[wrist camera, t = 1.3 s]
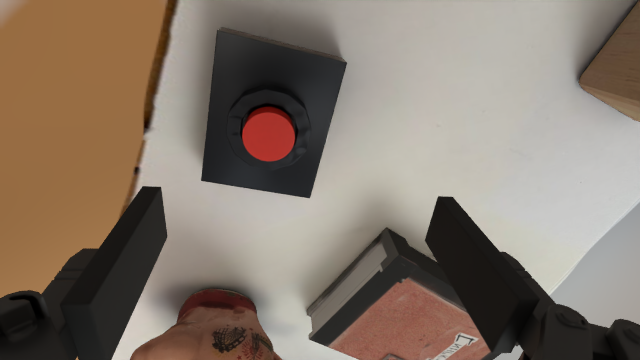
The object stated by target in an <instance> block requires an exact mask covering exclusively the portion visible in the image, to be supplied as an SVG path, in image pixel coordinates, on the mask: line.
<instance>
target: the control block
mask: <svg viewBox="0 0 640 360" xmlns="http://www.w3.org/2000/svg"><path fill="white" fill-rule="evenodd" d="M346 64H347V62H346V61H345V60H344V59H343V58H342V57H338V56H334V55H330V54H326V53H322V52H318V51H314V50H310V49H306V48H302V47H298V46H294V45H290V44H286V43H282V42H278V41H274V40H270V39H266V38H262V37H258V36H254V35H250V34H247V33H243V32H239V31H235V30H231V29H227V28H223V27H222V28H220V29H219V30H217V37H216V46H215V56H214V65H213V74H212V84H211V93H210V102H209V112H208V121H207V130H206V140H205V149H204V158H203V168H202V177H201V181H206V182H212V183H218V184H224V185H231V186H237V187H243V188H249V189H256V190H262V191H268V192H274V193H280V194H287V195H293V196H299V197H305V198H310V196H311V192H312V189H313V185H314V181H315V178H316V174H317V170H318V167H319V163H320V159H321V156H322V152H323V149H324V145H325V141H326V138H327V134H328V130H329V127H330V123H331V119H332V116H333V112H334V108H335V105H336V101H337V97H338V94H339V90H340V86H341V83H342V79H343V75H344V72H345V68H346ZM261 107H275V108H278V109H281V110H282V111H284V112H285V113H286V114H287V115H288V116H289V117H290V119H291V120H292V122H293V126H294V133H295V141H294V145H293V148H292V149H291V151H290V152H289V153H288V154H287V155H286V156H285V157H283V158H281V159H279V160H276V161H263V160H260V159H257V158H255V157H254V156H252V155H251V154H250V153H249V152H248V151H247V149H246V148H245V146H244V143H243V139H242V133H243V128H244V125H245V121H246V119H247V117H248V116H249V115H250V114H251V113H252V112H253V111H254V110H256V109H258V108H261Z"/></svg>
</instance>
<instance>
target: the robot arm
mask: <svg viewBox="0 0 640 360" xmlns="http://www.w3.org/2000/svg"><path fill="white" fill-rule="evenodd" d="M166 239H167V229H166V222H165V214H164V206H163V199H162V191H161V187H148V186H143V187H142V188H141V190H140V191H139V192H138V194H137V195H136V197H135V198H134V199H133V201H132V202H131V204H130V205H129V207H128V208H127V209H126V211H125V212H124V214H123V215H122V216H121V218H120V219H119V221H118V222H117V224H116V225H115V226H114V228H113V229H112V231H111V232H110V233H109V235H108V236H107V238H106V239H105V241H104V242H103V243H102V245H101V246H100V248H99V249H82V250H81V251H79V252H78V253H77V254H75V255H74V256H72V257H71V258H70V259H69V260H68V261H67V263H66V264H65V265H64V266H63V267H62V270H61V271H59V273H58V274H57V275H56V276H55V279H54V280H52V281H51V283H50V284H49V285H48V286H47V288H46V289H45V290H44V292H43V293H42V294H40V293H39V292H35V291H31V290H28V291H19V292H15V293H12V294H8V295H6V296H4V297H2V298H0V360H75V359H76V358H77V356H78V359H79V360H111V359H112V357H113V355H114V352H115V350H116V348H117V346H118V344H119V342H120V339H121V337H122V335H123V333H124V331H125V328H126V326H127V324H128V322H129V320H130V317H131V315H132V313H133V311H134V309H135V307H136V304H137V302H138V300H139V298H140V296H141V293H142V291H143V289H144V287H145V285H146V282H147V280H148V278H149V276H150V274H151V272H152V269H153V267H154V265H155V263H156V261H157V258H158V256H159V254H160V252H161V250H162V248H163V245H164V243H165V241H166ZM425 242H426V243H427V245H428V247H429V248H430V250H431V252H432V253H433V255H434V257H435V259H436V260H437V262H438V264H439V265H440V267H441V269H442V270H443V272H444V274H445V275H446V277H447V279H448V280H449V282H450V284H451V285H452V287H453V289H454V290H455V292H456V294H457V296H458V297H459V299H460V301H461V302H462V304H463V306H464V307H465V309H466V311H467V312H468V314H469V316H470V317H471V319H472V321H473V322H474V324H475V326H476V328H477V329H478V331H479V333H480V334H481V336H482V338H483V339H484V341H485V343H486V344H487V346H488V348H489V349H490V351H491V353H511V352H512V350H513V348H514V346H515V344H516V343H517V342H518V343H519V345H520V346H521V348H522V349H523V352H522V354H521V356H520V358H519V359H518V360H640V325H639V324H636V323H634V322H631V321H628V320H624V319H618V320H615V321H614V323H613V324H612V325H611V327H610V328H607V327H602V326H598V325H594V324H590V323H588V321H587V320H586V319H585V318H584V317H583V316H582V315H581V314H579V313H578V312H577V311H575V310H573V309H571V308H569V307H567V306H564V305H560V304H556V303H555V302H554V301H553V300H552V299H551V298H550V297H549V295H548V294H547V293H546V292H545V291H544V290H543V289H542V288H541V286H540V285H539V284H538V283H537V282H536V281H535V280H534V279H532V276H531V275H530V274H529V273H528V272H527V271H525V269H524V267H523V266H522V265H521V264H520V263H519V262H518V261H517V260H516V259H515V258H513V257H512V256H510V255H509V254H507V253H506V252H499V250H498V249H497V248H496V247H495V246H494V245H493V243H492V242H491V241H490V240H489V239H488V238H487V237H486V235H485V234H484V233H483V232H482V231H481V230H480V228H479V227H478V226H477V225H476V224H475V223H474V221H473V220H472V219H471V218H470V217H469V216H468V214H467V213H466V212H465V211H464V210H463V209H462V207H461V206H460V205H459V204H458V203H457V202H456V200H455V199H454V198H453V197H441V196H438V199H437V202H436V205H435V208H434V212H433V215H432V218H431V222H430V225H429V228H428V232H427V235H426V238H425Z"/></svg>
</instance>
